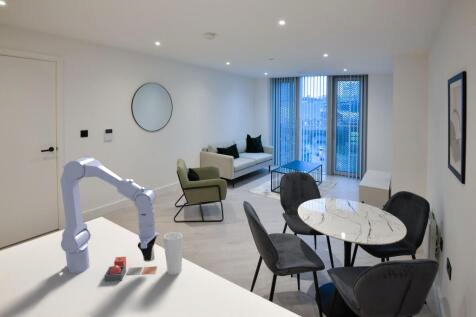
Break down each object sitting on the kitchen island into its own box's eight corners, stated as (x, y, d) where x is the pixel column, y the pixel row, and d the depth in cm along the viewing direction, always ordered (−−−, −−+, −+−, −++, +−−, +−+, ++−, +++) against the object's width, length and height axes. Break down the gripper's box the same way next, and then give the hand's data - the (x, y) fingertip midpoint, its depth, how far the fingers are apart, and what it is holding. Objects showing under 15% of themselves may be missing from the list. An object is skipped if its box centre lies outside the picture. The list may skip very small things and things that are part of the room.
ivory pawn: (141, 258, 112) (141, 246, 111) (152, 255, 115) (151, 243, 114) (145, 262, 109) (145, 250, 108) (156, 259, 112) (155, 247, 111)
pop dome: (108, 277, 107) (107, 269, 106) (111, 271, 110) (111, 263, 110) (119, 277, 107) (118, 268, 106) (122, 271, 111) (121, 262, 110)
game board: (104, 284, 106) (104, 281, 106) (114, 265, 117) (114, 263, 117) (153, 281, 107) (153, 279, 107) (158, 263, 119) (158, 261, 119)
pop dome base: (104, 281, 106) (104, 275, 105) (110, 272, 112) (109, 266, 111) (121, 280, 106) (121, 274, 106) (126, 271, 112) (125, 265, 112)
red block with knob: (114, 269, 113) (113, 260, 112) (117, 265, 117) (116, 256, 116) (124, 269, 114) (123, 260, 113) (126, 264, 117) (125, 255, 116)
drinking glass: (165, 279, 109) (164, 240, 106) (165, 269, 115) (163, 232, 112) (184, 276, 111) (183, 238, 108) (182, 266, 117) (181, 230, 114)
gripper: (154, 230, 102) (156, 266, 105) (160, 214, 117) (162, 247, 119) (133, 231, 102) (136, 268, 104) (142, 215, 116) (144, 247, 119)
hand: (148, 256), depth 112 cm, fingers closed on ivory pawn, 4 cm apart
